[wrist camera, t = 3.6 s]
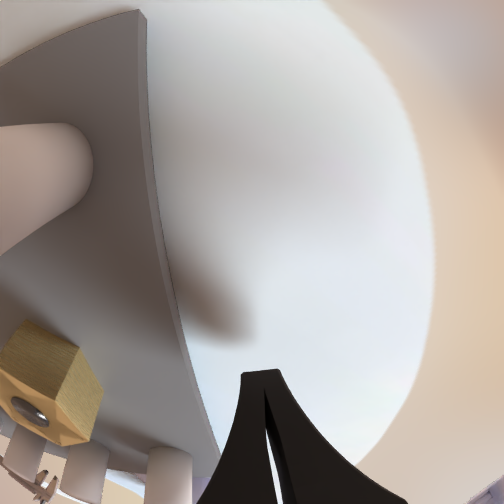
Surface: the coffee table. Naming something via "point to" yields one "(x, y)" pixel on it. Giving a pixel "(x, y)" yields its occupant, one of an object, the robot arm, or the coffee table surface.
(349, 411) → the coffee table surface
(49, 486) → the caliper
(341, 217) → the coffee table surface
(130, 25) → the plate
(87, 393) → the brass nut
